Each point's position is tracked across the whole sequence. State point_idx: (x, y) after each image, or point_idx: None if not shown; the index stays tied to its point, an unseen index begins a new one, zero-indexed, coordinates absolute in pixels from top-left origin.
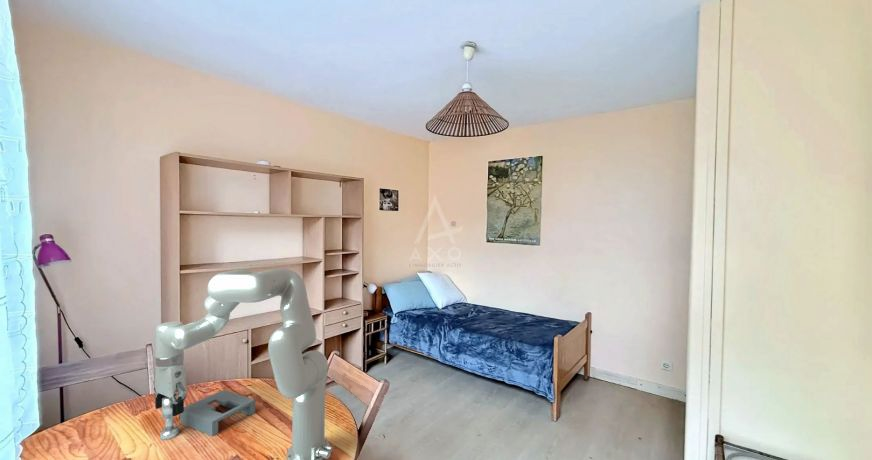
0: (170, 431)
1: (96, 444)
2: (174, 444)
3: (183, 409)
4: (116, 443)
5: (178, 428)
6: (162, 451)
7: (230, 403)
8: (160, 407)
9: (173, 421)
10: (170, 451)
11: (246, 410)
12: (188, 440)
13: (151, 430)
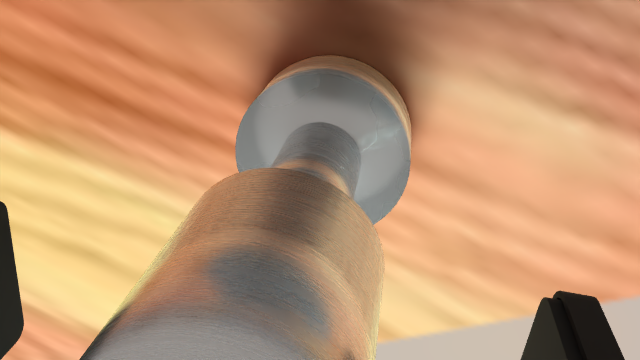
0: (365, 181)
1: None
2: (518, 213)
3: (607, 330)
4: (29, 313)
5: (376, 89)
6: (504, 308)
7: None
8: (16, 289)
9: (341, 182)
10: (582, 294)
11: None
12: (613, 125)
13: (52, 110)
